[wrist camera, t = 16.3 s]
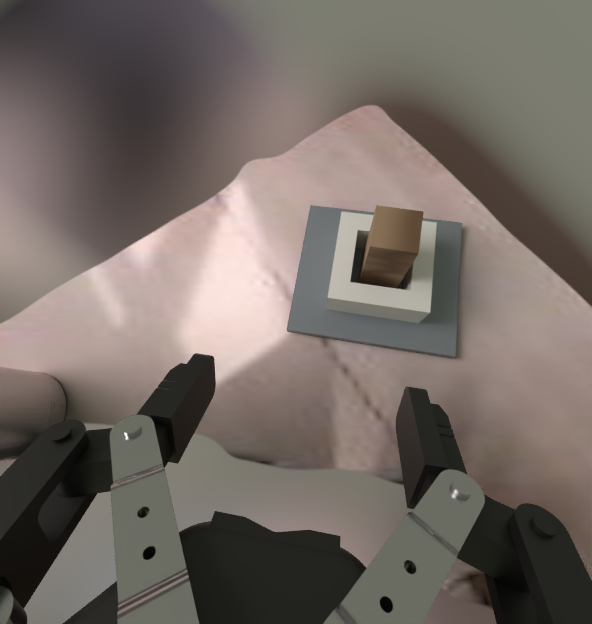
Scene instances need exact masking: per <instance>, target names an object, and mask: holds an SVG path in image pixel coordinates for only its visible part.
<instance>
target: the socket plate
mask: <svg viewBox="0 0 592 624" xmlns="http://www.w3.org/2000/svg"><path fill="white" fill-rule="evenodd" d="M373 217H374V213H372V212H364V211H355V210H346V209H338V208H329V207H320V206H312V205H311V206H310V211H309V217H308V222H307V227H306V232H305V237H304V242H303V248H302V253H301V258H300V263H299V268H298V274H297V279H296V284H295V289H294V294H293V300H292V305H291V310H290V315H289V320H288V325H287V332H293V333H299V334H305V335H311V336H318V337H324V338H330V339H336V340H342V341H349V342H355V343H361V344H367V345H373V346H380V347H386V348H392V349H398V350H404V351H411V352H417V353H423V354H429V355H435V356H442V357H448V358H454V357H456V336H457V315H458V294H459V273H460V252H461V231H462V223H459V222H450V221H442V220H433V219H424V218H423V220H422V229H421V237H420V246H419V254H418V255H417V257H416V258H415V260H414V262H413V263H412V265H411V266H410V268H409V270H408V271H407V273H406V274H405V276H404V278H403V279H402V281H401V282H400V284H399V286H398V287H397V289H396V288H389V287H382V286H375V285H368V284H360V283H358V281H359V275H360V269H361V263H362V256H363V253H364V249H365V246H366V242H367V238H368V235H369V231H370V228H371V224H372V220H373Z"/></svg>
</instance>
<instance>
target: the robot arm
mask: <svg viewBox="0 0 592 624" xmlns="http://www.w3.org/2000/svg"><path fill="white" fill-rule="evenodd" d="M215 385H216V383H215V365H214V357H213V356H210V355H203V354H197V353H196V354H194V355H193V356H192V358H191V359H190V360H189V362H188V363H187V364H182V363H181V364H179V365H177V366H176V367H174V368H173V369H171V370H170V371H169V373H168V374H167V375H166V376H165V378H164V380H163V381H162V382H161V383H160V384H159V386H158V388H156V390H155V391H154V392H153V393H152V395H151V396H150V397H149V399H148V400H147V401H146V403H145V404H144V405H143V407H142V408H141V409H140V410H139V412H138V413H137V414H136V415H133V416H129V417H126V418H124V419H122V420H121V421H119V422H118V423H117V424H116V425H115V426H114V427H113V428H109V429H100V430H89V431H86V428H85V425H84V424H83V423H82V422H80V421H77V420H67V421H64V417H65V413H66V399H65V394H64V391H63V389H62V387H61V386H60V384H59V383H58V381H56V380H55V379H54V378H53V377H51V376H49V375H47V374H44V373H38V372H32V371H24V370H17V369H11V368H4V367H0V462H5V461H11V460H16V461H15V462H14V463H13V464H12V465H11V466H10V467H9V468H8V469H7V470H6V471H5V472H4V473H3V474H2V476H0V624H27V615H26V612H25V610H24V607H25V606H26V604H27V603H28V601H29V600H30V598H31V596H32V595H33V593H34V592H35V590H36V589H37V587H38V585H39V584H40V582H41V581H42V579H43V578H44V576H45V574H46V573H47V571H48V570H49V568H50V567H51V565H52V564H53V562H54V560H55V559H56V557H57V556H58V554H59V553H60V551H61V549H62V548H63V546H64V545H65V543H66V542H67V540H68V538H69V537H70V535H71V534H72V532H73V531H74V529H75V528H76V526H77V524H78V523H79V521H80V520H81V518H82V516H83V515H84V513H85V512H86V510H87V509H88V507H89V506H90V504H91V502H92V501H93V499H94V498H95V496H96V495H97V493H101V492H108V491H111V503H112V516H113V530H114V531H113V532H114V547H115V561H116V576H117V581H116V582H115V583H114V584H112V585H111V586H110V587H109V588H107V589H106V590H105V591H104V592H102V593H101V594H100V595H99V596H97V597H96V598H95V599H93V600H92V601H91V602H90V603H89V604H87V605H86V606H85V607H83V608H82V609H81V610H80V611H78V612H77V613H76V614H74V615H73V616H72V617H71V618H70V619H68V620H67V621H66V622H64V623H63V624H422V622H423V620H424V619H425V617H426V615H427V613H428V611H429V609H430V607H431V605H432V604H433V602H434V600H435V598H436V596H437V594H438V592H439V590H440V588H441V587H442V585H443V583H444V581H445V579H446V577H447V575H448V573H449V572H450V570H451V568H452V566H453V564H454V562H455V560H456V558H458V559H460V560H462V561H464V562H466V563H467V564H469V565H471V566H473V567H475V568H477V569H478V570H480V571H482V572H484V574H485V578H486V582H487V586H488V590H489V594H490V598H491V602H492V606H493V610H494V614H495V618H496V623H497V624H592V581H591V579H590V577H589V575H588V572H587V570H586V568H585V566H584V564H583V562H582V560H581V558H580V556H579V554H578V552H577V550H576V548H575V546H574V543H573V541H572V539H571V537H570V535H569V533H568V531H567V530H566V528H565V527H564V525H563V524H562V523H561V522H560V521H559V520H558V519H557V518H556V517H555V516H554V515H553V514H551V513H550V512H548V511H547V510H545V509H543V508H542V507H539V506H537V505H533V504H521V505H519V506H518V507H517V508H516V510H514V509H512V508H510V507H508V506H506V505H504V504H501V503H499V502H497V501H495V500H493V499H491V498H489V497H487V496H486V495H484V493H483V491H482V489H481V488H480V486H479V485H478V484H477V482H476V481H475V480H474V479H472V478H471V477H470V476H468V475H467V472H466V469H465V466H464V463H463V460H462V457H461V454H460V451H459V448H458V445H457V442H456V439H454V433H453V430H452V429H451V425H450V422H449V419H448V416H447V414H446V413H445V412H444V411H443V409H442V408H441V407H440V406H439V405H437V404H431V403H430V400H429V396H428V393H427V391H426V390H425V389H419V388H412V387H406V388H405V390H404V393H403V396H402V399H401V403H400V406H399V409H398V412H397V417H396V434H397V440H398V447H399V454H400V461H401V468H402V475H403V482H404V488H405V495H406V502H407V508H411V509H414V510H413V511H412V512H411V513H410V512H409V513H408V514H407V515H406V516H405V517H404V518H403V520H402V521H401V522H400V524H399V525H398V527H397V528H396V529H395V531H394V532H393V533H392V535H391V536H390V538H389V539H388V540H387V542H386V543H385V544H384V546H383V547H382V548H381V550H380V551H379V553H378V554H377V555H376V556H375V558H374V559H373V560H372V562H371V563H370V564H369V566H368V567H367V568H366V567H365V566H364V565H363V564H362V563H361V562H360V561H359V560H358V559H357V558H356V557H354V556H353V555H352V554H350V553H349V552H348V551H346V550H345V549H343V548H341V547H340V536H337V535H331V534H326V533H322V532H316V531H312V530H301V531H288V532H273V531H271V530H269V529H267V528H265V527H263V526H261V525H259V524H257V523H255V522H253V521H252V520H250V519H247V518H246V517H242V516H237V515H232V514H227V513H222V512H217V511H215V513H214V515H213V518H212V521H210V522H203V523H199V524H196V525H193V526H191V527H188V528H187V529H184V530H183V531H181V532H178V528H177V524H176V519H175V514H174V510H173V505H172V501H171V496H170V492H169V487H168V483H167V478H166V474H165V469H164V468H165V466H166V464H167V463H168V462H173V463H178V462H179V461H180V459H181V457H182V455H183V453H184V451H185V449H186V447H187V445H188V443H189V442H190V439H191V437H192V436H193V434H194V432H195V430H196V428H197V426H198V424H199V423H200V421H201V419H202V417H203V415H204V413H205V411H206V409H207V407H208V405H209V404H210V402H211V400H212V398H213V395H214V392H215Z"/></svg>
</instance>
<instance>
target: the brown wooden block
mask: <svg viewBox="0 0 592 624" xmlns="http://www.w3.org/2000/svg"><path fill="white" fill-rule="evenodd" d="M422 220H423V212H422V211H414V210H407V209H399V208H392V207H384V206H376V209H375V213H374V217H373V220H372V224H371V228H370V231H369V235H368V238H367V242H366V246H365V249H364V253H363V256H362V263H361V269H360V275H359V281H358V283H360V284H368V285H375V286H382V287H389V288H396V289H397V287H398V286H399V284H400V282H401V281H402V279H403V278H404V276H405V274H406V273H407V271H408V270H409V268H410V266H411V265H412V263H413V262H414V260H415V258H416V257H417V255H418V254H419V246H420V237H421V229H422Z"/></svg>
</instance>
